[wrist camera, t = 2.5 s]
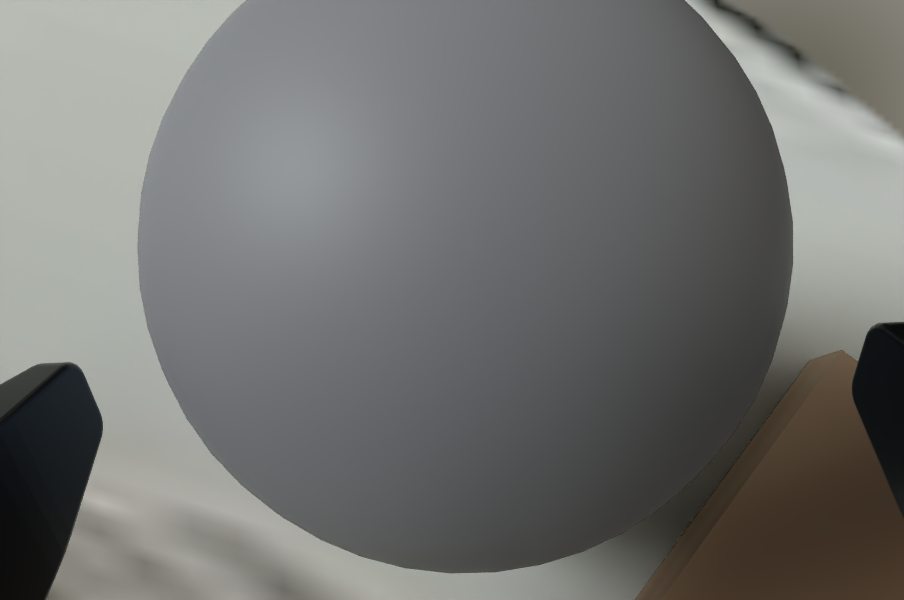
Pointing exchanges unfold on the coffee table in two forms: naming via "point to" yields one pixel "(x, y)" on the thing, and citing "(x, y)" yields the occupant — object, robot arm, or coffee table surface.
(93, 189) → the coffee table surface
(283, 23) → the blue grey domed cylinder
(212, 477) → the coffee table surface
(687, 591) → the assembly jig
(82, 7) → the coffee table surface
